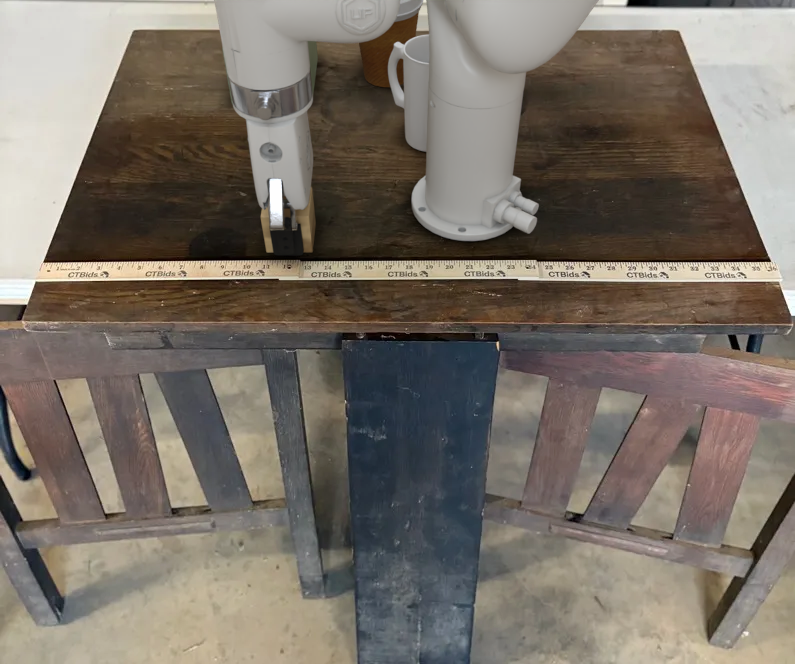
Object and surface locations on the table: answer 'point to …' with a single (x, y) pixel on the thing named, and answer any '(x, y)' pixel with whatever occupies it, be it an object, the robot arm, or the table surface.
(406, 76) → the mug
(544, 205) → the table surface
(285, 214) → the block
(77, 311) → the table surface
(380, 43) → the disposable coffee cup
